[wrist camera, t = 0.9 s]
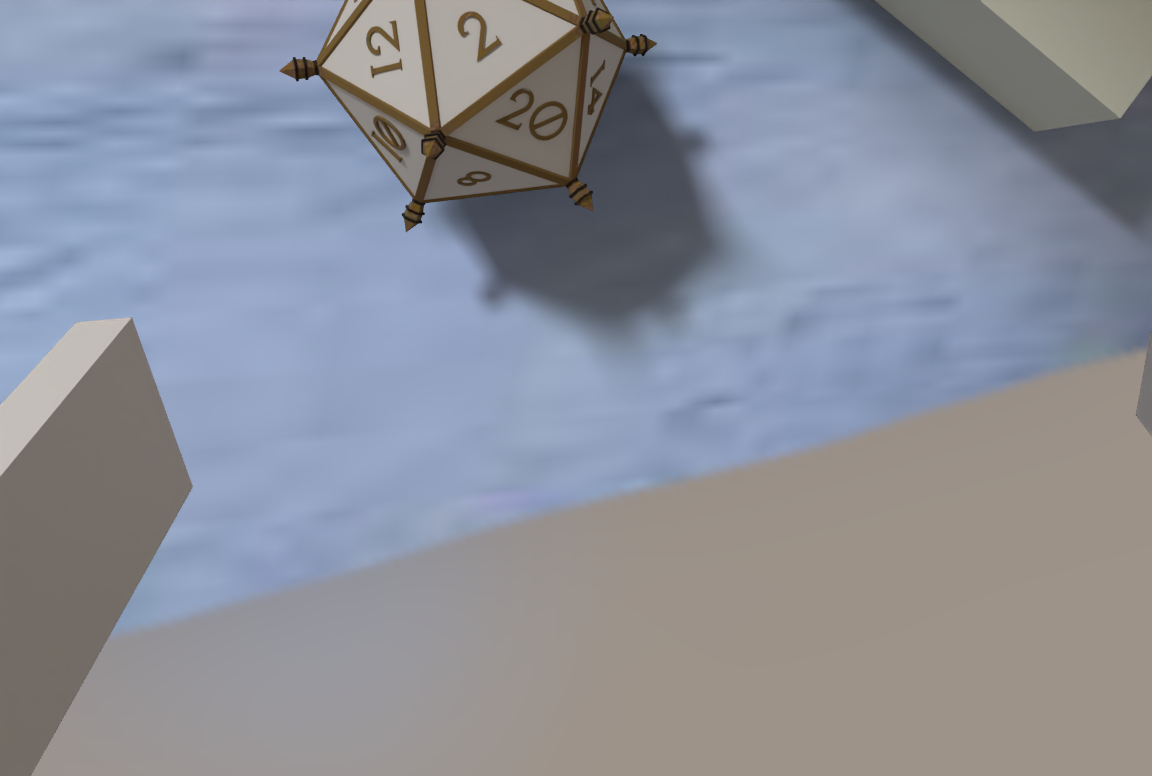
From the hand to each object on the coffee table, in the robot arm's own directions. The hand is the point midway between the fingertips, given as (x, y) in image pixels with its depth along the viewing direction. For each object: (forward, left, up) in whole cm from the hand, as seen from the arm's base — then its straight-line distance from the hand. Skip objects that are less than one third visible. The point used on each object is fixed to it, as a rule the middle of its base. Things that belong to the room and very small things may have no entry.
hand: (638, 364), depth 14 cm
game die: (-5, +4, -20) cm, 21 cm away
